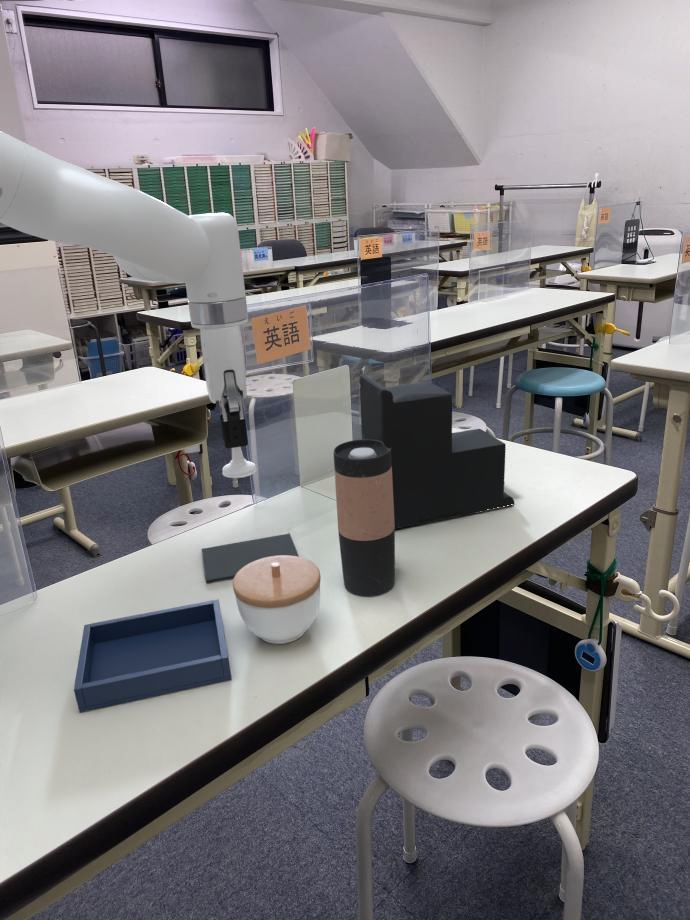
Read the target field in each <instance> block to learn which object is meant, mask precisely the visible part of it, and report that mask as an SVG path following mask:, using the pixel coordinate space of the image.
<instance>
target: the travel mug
mask: <svg viewBox="0 0 690 920" xmlns="http://www.w3.org/2000/svg"><path fill="white" fill-rule="evenodd" d="M333 467H334V468H333V469H334V485H335V499H336V500H335V501H336V517H337V518H336V519H337V531H338V542H339V551H340V560H341V561H340V562H341V569H342V579H343V585H344V587H345V589H346V591H348V592H349V593H350V594H353V595H355V596H360V597H377V596H382V595H383V594H386V593H388V592H390V590H392V588H393V587H394V586H395V583H396V581H395V580H396V529H395V523H394V502H393V482H392V461H391V448H390V449H388V448H387V447H386V446H385V445H384V444H383V442H381V441H378V440H369V439H363V440H362V439H354V440H348V441H346V442H343V443H340V444H337V446H335V447H334V449H333Z"/></svg>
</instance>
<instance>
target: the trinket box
mask: <svg viewBox="0 0 690 920" xmlns="http://www.w3.org/2000/svg"><path fill="white" fill-rule="evenodd" d="M321 579H322V577H321V571H320V569H319V567H318V566H317V565H316V564H315V562H312V560H309V559H308V558H305V557H302V556H299V557H298V556H291V555H278V556H270V557H266V558H262V559H259V560H256V561H253V562H251V563H249V564H247V565H246V566H244V567H243V568H242V569H240V570H239V571H238V572H237V574H236V575H235V577H234V578H233V579H232V589H233V593H234V597H235V603H236V607H237V610H238V613H239V616H240V618H241V620H242V622H243V624H244V625H245V627H246V628H247V629H248V630H249V631H250V632H251V633H252V634H254V635H255V636H257V637H258V638H260V639H261V640H262V641H264V642H266V643H269V644H274V645H284V644H289V643H293V642H295V641H297V640H298V639H300V638H301V637H303V635H304V634H305V633H306V631H308V630H309V628H310V627H311V626H312V624H313V623H314V622H315V620H316V619H317V616H318V613H319V610H320V605H321V594H322V591H321Z"/></svg>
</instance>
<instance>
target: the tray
mask: <svg viewBox="0 0 690 920" xmlns="http://www.w3.org/2000/svg"><path fill="white" fill-rule="evenodd" d="M223 622H224V621H223V616H222V610H221V604H220V599H219V598H216V599H212V600H205V601H202V602H201V601H200V602H196V603H191V604H186V605H181V606H175V607H171V608H164V609H159V610H155V611H148V612H144V613H139V614H134V615H128V616H123V617H118V618H113V619H106V620H102V621H96V622H92V623H88V624H84V625H83V632H82V637H81V643H80V649H79V657H78V663H77V668H76V675H75V679H74V687H73V693H74V696H75V700H76V704H77V708H78V712H79V713H80V714H81V713H84V712H85V713H86V712H89V711H90V712H91V711H93V710H98V709H103V708H107V707H112V706H117V705H121V704H126V703H130V702H135V701H139V700H144V699H150V698H154V697H158V696H159V697H160V696H162V695H168V694H171V693H177V692H182V691H186V690H190V689H194V688H195V689H196V688H199V687H204V686H208V685H213V684H218V683H223V682H227V681H231V680H232V679H233V678H232V671H231V665H230V659H229V651H228V646H227V641H226V635H225V629H224V623H223Z"/></svg>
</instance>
